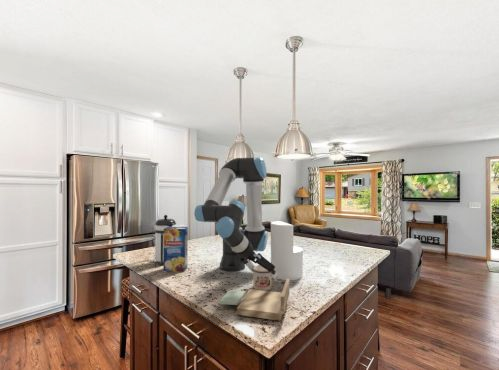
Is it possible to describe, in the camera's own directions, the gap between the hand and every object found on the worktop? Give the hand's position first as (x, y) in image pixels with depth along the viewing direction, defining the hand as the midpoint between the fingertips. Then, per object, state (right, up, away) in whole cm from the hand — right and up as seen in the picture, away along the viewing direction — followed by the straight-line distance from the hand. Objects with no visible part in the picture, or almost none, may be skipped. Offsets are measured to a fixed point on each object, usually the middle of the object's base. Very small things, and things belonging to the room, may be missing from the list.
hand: (264, 273), depth 117 cm
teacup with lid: (0, -7, +1) cm, 7 cm away
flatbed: (-2, -7, -20) cm, 21 cm away
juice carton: (-50, -8, +27) cm, 57 cm away
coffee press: (-62, -8, +42) cm, 75 cm away
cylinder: (+13, -8, +19) cm, 25 cm away
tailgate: (-9, -4, -17) cm, 20 cm away
